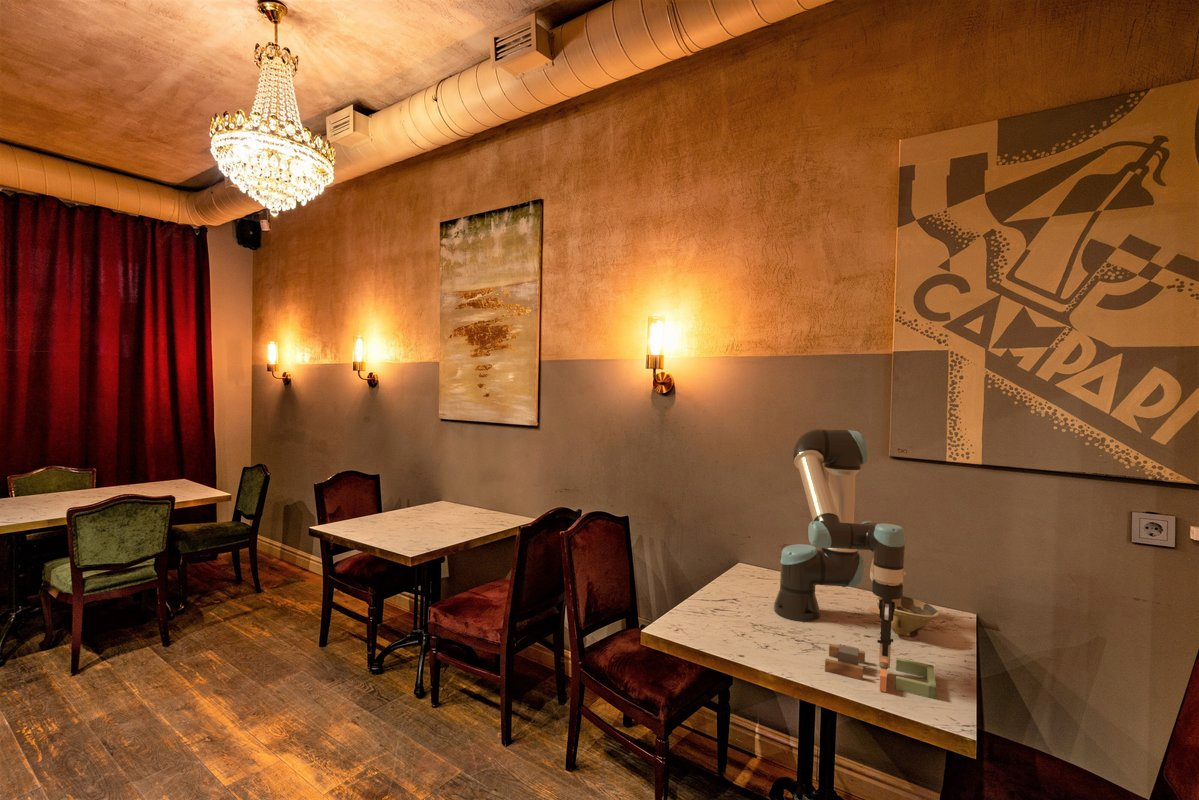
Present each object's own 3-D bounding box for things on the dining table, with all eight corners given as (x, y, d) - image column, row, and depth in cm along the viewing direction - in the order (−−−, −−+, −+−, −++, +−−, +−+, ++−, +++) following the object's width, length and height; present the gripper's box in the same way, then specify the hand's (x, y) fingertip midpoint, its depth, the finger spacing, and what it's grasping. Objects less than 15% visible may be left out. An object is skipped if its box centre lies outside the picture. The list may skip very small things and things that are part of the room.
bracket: (895, 689, 149) (896, 678, 149) (895, 667, 161) (896, 657, 161) (935, 699, 145) (936, 687, 145) (932, 676, 157) (933, 665, 157)
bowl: (919, 649, 174) (920, 618, 173) (864, 627, 189) (865, 599, 189) (949, 637, 183) (950, 608, 183) (895, 618, 198) (896, 590, 198)
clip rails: (824, 671, 158) (825, 660, 158) (829, 654, 169) (829, 644, 169) (862, 680, 154) (862, 669, 154) (864, 662, 164) (865, 651, 164)
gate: (878, 690, 148) (879, 671, 148) (879, 672, 158) (880, 654, 158) (887, 692, 147) (887, 673, 147) (887, 674, 157) (888, 656, 157)
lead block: (837, 669, 160) (838, 651, 160) (839, 661, 164) (839, 644, 164) (857, 673, 157) (857, 655, 157) (858, 666, 162) (858, 648, 162)
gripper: (903, 590, 150) (899, 679, 151) (902, 577, 162) (899, 659, 162) (871, 585, 154) (868, 672, 154) (873, 572, 165) (870, 653, 166)
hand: (884, 665), depth 158 cm, fingers closed
